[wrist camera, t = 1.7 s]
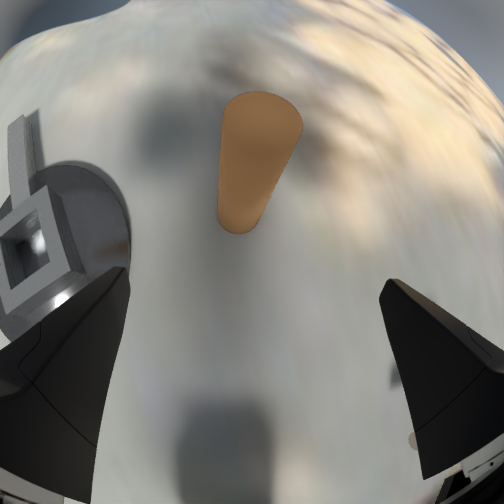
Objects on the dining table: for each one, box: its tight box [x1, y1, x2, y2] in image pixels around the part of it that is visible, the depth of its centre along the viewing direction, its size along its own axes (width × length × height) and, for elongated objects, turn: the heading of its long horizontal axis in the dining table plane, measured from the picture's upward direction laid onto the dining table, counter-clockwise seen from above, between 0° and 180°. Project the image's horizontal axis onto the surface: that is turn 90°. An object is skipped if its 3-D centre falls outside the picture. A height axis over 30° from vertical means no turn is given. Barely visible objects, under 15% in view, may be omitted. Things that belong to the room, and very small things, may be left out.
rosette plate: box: [0, 115, 131, 342], centre depth 19 cm, size 27×18×4 cm, turn 30°
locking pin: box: [217, 91, 303, 234], centre depth 17 cm, size 4×4×12 cm
